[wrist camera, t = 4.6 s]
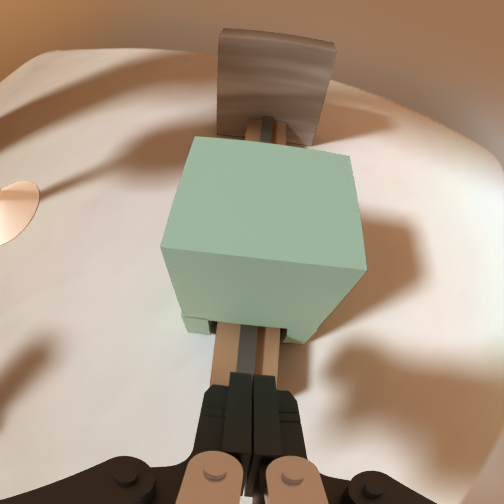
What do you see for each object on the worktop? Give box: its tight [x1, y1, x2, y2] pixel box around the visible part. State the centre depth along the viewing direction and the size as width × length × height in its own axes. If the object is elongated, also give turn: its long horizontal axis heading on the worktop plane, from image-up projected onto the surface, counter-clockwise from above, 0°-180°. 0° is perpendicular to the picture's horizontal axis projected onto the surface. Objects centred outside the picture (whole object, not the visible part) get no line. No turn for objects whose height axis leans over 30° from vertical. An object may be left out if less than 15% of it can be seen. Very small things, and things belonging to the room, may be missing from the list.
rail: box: [210, 28, 337, 390], centre depth 16 cm, size 22×8×9 cm, turn 175°
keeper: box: [161, 136, 367, 344], centre depth 14 cm, size 5×6×8 cm
